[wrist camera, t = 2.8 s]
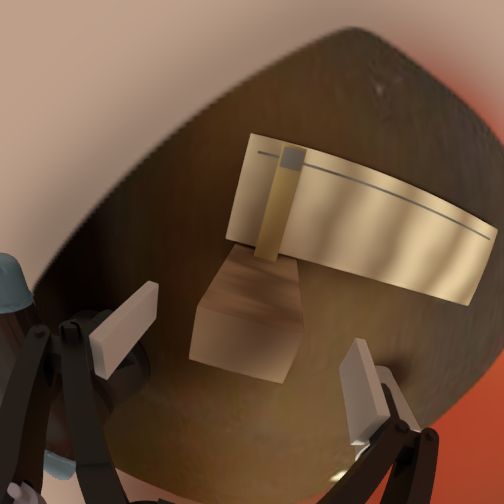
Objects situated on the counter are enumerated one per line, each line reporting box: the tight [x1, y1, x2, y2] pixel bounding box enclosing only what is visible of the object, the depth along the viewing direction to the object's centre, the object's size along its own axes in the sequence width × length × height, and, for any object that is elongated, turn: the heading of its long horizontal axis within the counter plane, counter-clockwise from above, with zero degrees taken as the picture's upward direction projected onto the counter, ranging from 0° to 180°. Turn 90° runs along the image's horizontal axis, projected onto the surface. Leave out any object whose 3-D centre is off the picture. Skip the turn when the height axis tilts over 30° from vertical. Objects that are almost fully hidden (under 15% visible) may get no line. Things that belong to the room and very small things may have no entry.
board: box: [225, 134, 498, 306], centre depth 24 cm, size 30×10×2 cm, turn 76°
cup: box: [355, 366, 421, 461], centre depth 26 cm, size 8×8×12 cm
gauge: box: [189, 143, 307, 383], centre depth 20 cm, size 6×14×14 cm, turn 166°
